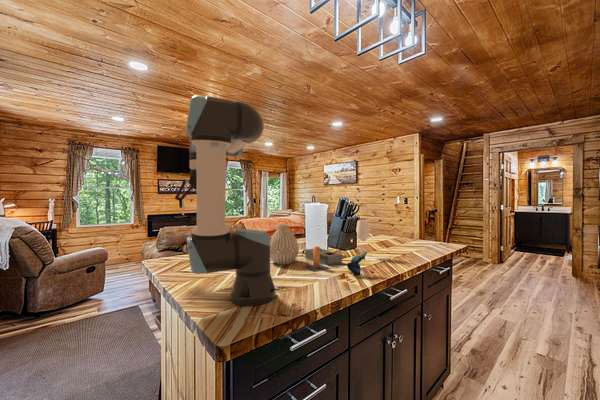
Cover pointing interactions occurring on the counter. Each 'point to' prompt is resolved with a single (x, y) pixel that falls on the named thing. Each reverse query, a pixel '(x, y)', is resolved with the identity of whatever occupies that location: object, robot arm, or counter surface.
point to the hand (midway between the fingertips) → (198, 214)
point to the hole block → (325, 257)
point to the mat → (316, 269)
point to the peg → (316, 257)
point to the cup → (363, 229)
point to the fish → (356, 263)
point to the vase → (283, 246)
